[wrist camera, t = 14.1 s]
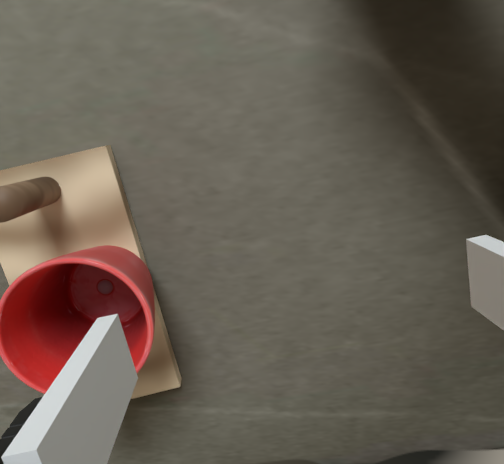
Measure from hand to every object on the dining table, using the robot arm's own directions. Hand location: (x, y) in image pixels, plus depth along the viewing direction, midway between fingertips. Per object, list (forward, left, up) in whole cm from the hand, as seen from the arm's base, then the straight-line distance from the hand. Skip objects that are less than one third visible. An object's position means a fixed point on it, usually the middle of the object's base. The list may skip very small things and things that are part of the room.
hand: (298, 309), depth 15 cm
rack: (+4, -17, -24) cm, 30 cm away
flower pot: (+4, -14, -23) cm, 27 cm away
